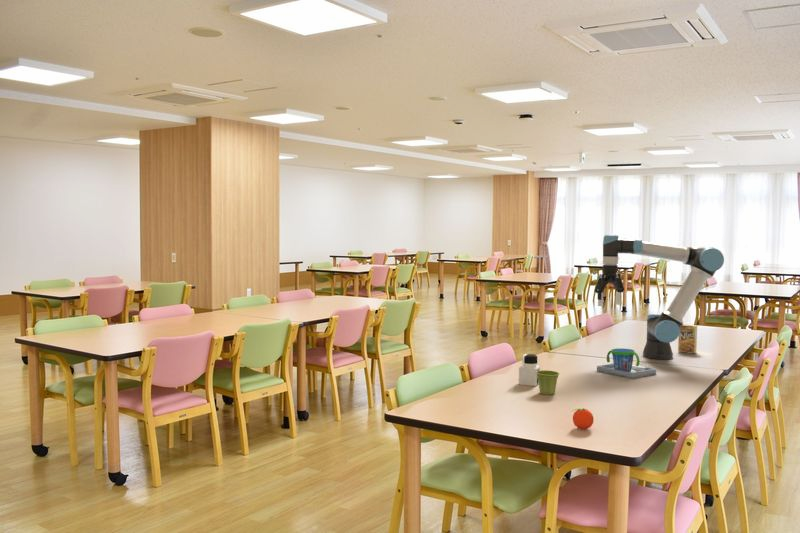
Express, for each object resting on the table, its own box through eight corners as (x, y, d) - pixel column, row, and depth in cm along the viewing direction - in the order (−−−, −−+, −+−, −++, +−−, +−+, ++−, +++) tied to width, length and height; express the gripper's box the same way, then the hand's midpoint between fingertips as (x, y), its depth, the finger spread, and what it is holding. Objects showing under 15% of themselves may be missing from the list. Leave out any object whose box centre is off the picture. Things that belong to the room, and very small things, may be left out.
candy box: (677, 352, 382) (678, 324, 381) (680, 351, 385) (680, 324, 385) (694, 353, 377) (695, 326, 376) (696, 352, 380) (697, 325, 379)
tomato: (567, 430, 231) (568, 409, 231) (570, 424, 238) (571, 404, 237) (592, 433, 228) (592, 412, 228) (594, 427, 235) (594, 407, 234)
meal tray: (621, 367, 339) (621, 361, 339) (656, 374, 322) (656, 368, 322) (596, 370, 329) (596, 365, 329) (631, 378, 313) (631, 373, 312)
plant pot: (560, 391, 287) (560, 371, 286) (557, 396, 278) (558, 375, 277) (537, 389, 290) (538, 369, 289) (534, 394, 281) (534, 373, 280)
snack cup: (601, 370, 326) (602, 349, 326) (614, 367, 333) (614, 346, 333) (631, 375, 314) (631, 353, 314) (643, 372, 321) (644, 351, 321)
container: (540, 382, 303) (540, 353, 302) (536, 386, 296) (536, 356, 296) (523, 381, 306) (523, 352, 306) (518, 384, 299) (518, 355, 299)
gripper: (620, 263, 365) (619, 303, 366) (588, 264, 351) (587, 306, 352) (631, 264, 358) (630, 304, 359) (599, 265, 345) (598, 307, 346)
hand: (609, 305), depth 356 cm, fingers open, 13 cm apart
